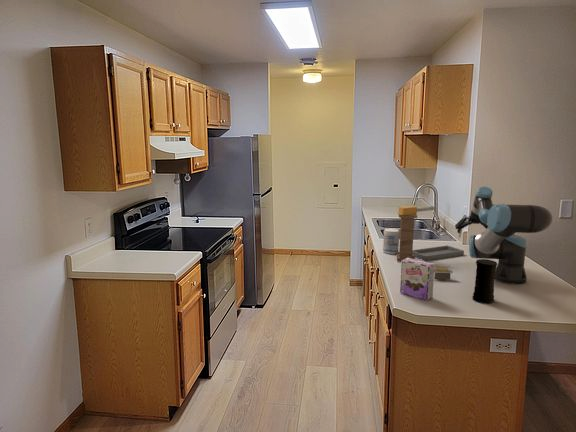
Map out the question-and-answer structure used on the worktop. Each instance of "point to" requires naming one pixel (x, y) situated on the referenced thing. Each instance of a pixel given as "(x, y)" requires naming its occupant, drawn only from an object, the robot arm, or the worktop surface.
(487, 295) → the container
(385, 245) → the supplement tub
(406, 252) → the brown wooden column
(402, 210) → the screwdriver
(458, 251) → the tray
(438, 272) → the platform
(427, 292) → the candy box
